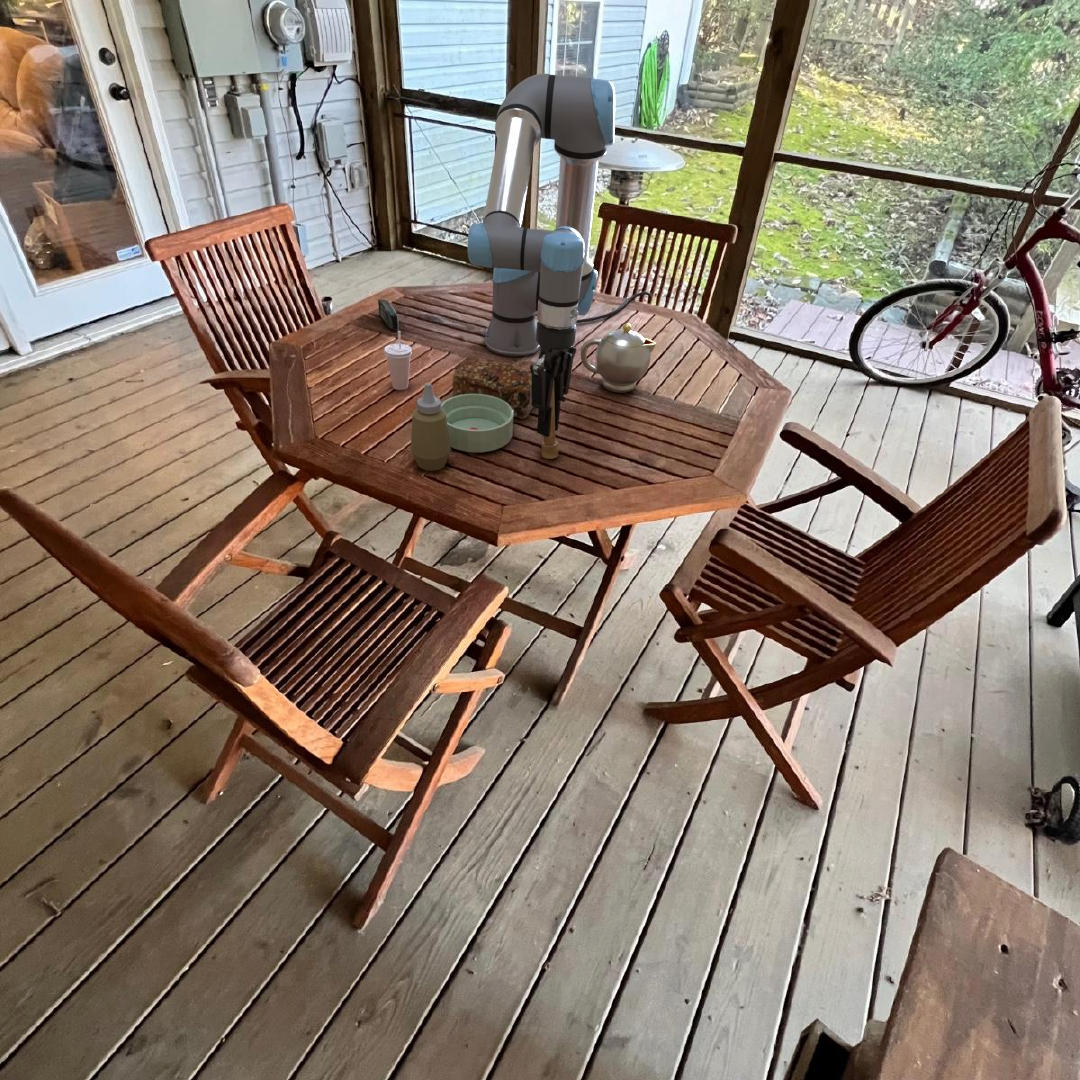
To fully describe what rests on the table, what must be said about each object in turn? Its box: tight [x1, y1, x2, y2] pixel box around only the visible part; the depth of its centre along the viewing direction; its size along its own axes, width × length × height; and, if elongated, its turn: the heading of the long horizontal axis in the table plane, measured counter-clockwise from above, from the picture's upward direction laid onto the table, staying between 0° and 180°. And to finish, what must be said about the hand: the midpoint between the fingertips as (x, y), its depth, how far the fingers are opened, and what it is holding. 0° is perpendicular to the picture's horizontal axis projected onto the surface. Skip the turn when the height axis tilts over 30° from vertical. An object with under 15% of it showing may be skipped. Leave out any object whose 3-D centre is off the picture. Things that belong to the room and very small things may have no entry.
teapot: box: [579, 323, 657, 394], centre depth 170 cm, size 18×14×16 cm
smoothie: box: [383, 330, 413, 391], centre depth 162 cm, size 6×6×14 cm
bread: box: [451, 356, 535, 420], centre depth 160 cm, size 19×11×10 cm, turn 71°
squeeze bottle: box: [410, 382, 452, 472], centre depth 136 cm, size 8×8×18 cm
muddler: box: [540, 382, 559, 460], centre depth 141 cm, size 4×4×20 cm
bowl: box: [441, 394, 514, 454], centre depth 150 cm, size 16×16×6 cm
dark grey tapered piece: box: [377, 299, 402, 334], centre depth 193 cm, size 5×3×15 cm
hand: (547, 431), depth 144 cm, fingers open, 2 cm apart
